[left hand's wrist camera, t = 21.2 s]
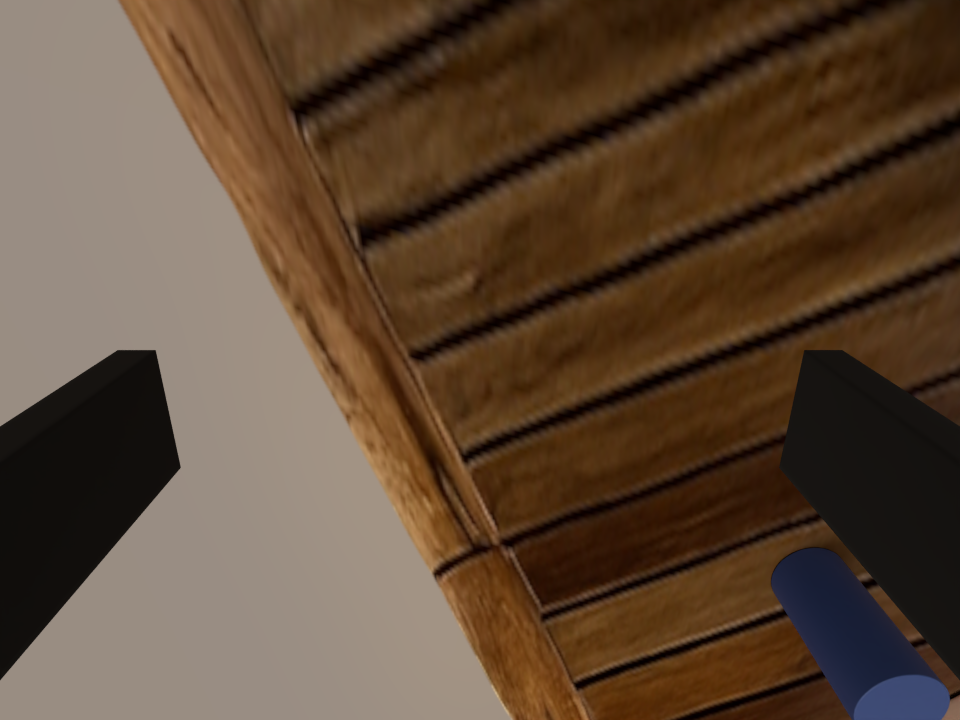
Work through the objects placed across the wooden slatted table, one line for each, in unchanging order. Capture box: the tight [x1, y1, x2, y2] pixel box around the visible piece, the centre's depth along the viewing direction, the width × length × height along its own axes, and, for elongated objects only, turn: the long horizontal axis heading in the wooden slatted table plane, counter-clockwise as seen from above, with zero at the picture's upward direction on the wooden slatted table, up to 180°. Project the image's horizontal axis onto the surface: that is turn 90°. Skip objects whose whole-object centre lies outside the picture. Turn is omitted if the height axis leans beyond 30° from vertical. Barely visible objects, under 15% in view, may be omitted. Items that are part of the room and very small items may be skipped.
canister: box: [771, 548, 950, 720], centre depth 44 cm, size 6×6×12 cm
